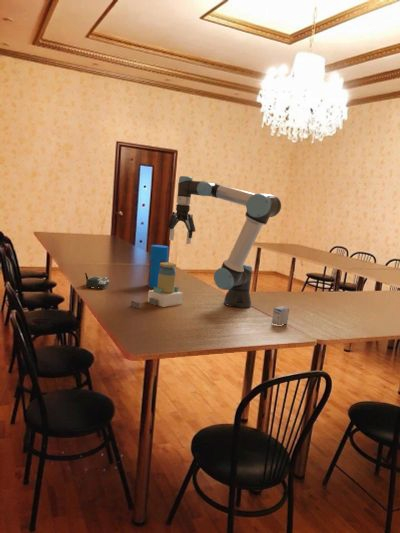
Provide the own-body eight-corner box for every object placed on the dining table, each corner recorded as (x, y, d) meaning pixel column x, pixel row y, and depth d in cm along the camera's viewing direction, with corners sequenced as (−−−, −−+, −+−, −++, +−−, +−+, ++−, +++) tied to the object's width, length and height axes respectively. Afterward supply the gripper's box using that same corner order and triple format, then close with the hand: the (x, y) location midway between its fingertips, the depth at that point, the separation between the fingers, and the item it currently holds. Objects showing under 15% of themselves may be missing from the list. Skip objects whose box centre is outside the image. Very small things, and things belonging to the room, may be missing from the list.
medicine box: (279, 322, 228) (281, 305, 227) (287, 324, 226) (289, 307, 224) (271, 325, 222) (273, 307, 221) (279, 327, 220) (281, 310, 218)
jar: (158, 293, 237) (161, 265, 235) (155, 289, 246) (157, 261, 244) (176, 294, 240) (178, 265, 238) (171, 289, 249) (174, 262, 246)
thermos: (145, 284, 285) (148, 244, 281) (161, 284, 289) (165, 245, 285) (151, 288, 275) (154, 247, 271) (167, 288, 279) (171, 247, 275)
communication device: (113, 282, 282) (114, 268, 281) (104, 290, 258) (105, 275, 257) (94, 280, 282) (95, 266, 281) (83, 288, 259) (84, 272, 257)
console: (182, 303, 245) (183, 288, 244) (142, 310, 224) (143, 293, 223) (166, 298, 253) (168, 283, 252) (126, 304, 232) (127, 288, 231)
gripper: (163, 202, 262) (159, 238, 265) (194, 206, 245) (191, 245, 249) (172, 202, 267) (169, 238, 271) (204, 206, 251) (200, 245, 254)
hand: (179, 242), depth 260 cm, fingers open, 13 cm apart
